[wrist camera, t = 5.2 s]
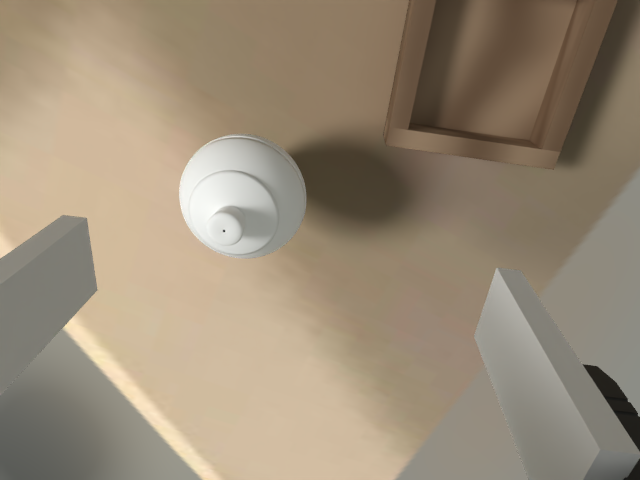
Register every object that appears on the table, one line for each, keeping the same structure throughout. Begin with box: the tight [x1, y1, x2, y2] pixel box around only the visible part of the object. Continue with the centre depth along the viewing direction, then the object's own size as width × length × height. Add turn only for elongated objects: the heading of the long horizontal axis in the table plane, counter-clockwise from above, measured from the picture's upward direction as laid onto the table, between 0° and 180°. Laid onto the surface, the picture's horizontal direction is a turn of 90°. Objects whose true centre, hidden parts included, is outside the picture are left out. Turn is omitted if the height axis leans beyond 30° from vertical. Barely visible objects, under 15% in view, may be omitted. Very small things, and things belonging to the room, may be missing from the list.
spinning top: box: [179, 134, 306, 258], centre depth 28 cm, size 8×8×12 cm
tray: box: [383, 0, 618, 170], centre depth 28 cm, size 11×11×3 cm
